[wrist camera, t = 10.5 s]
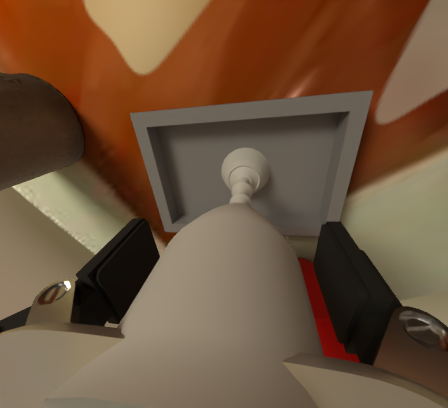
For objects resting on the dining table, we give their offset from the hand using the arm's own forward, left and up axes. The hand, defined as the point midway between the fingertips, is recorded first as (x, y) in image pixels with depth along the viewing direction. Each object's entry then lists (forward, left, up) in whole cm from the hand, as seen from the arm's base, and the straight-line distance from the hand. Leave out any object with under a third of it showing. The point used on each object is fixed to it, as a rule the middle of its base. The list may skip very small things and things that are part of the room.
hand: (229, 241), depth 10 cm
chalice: (0, 0, -11) cm, 11 cm away
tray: (0, 0, -12) cm, 12 cm away
